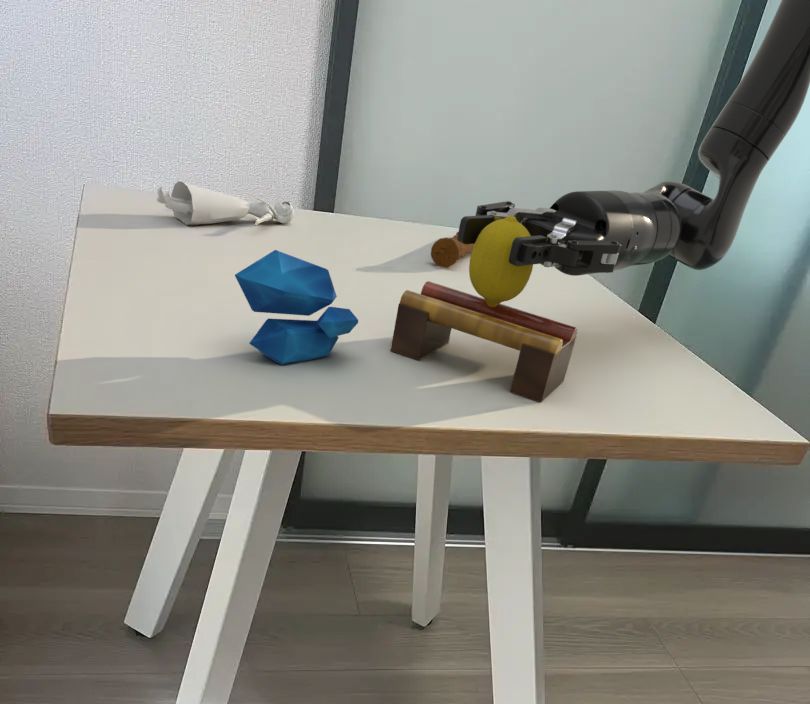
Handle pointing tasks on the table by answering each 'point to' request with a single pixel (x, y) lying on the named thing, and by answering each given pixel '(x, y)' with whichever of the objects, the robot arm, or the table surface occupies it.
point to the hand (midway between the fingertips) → (487, 241)
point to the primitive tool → (449, 251)
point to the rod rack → (486, 334)
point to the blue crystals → (293, 308)
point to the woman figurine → (219, 206)
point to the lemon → (498, 262)
